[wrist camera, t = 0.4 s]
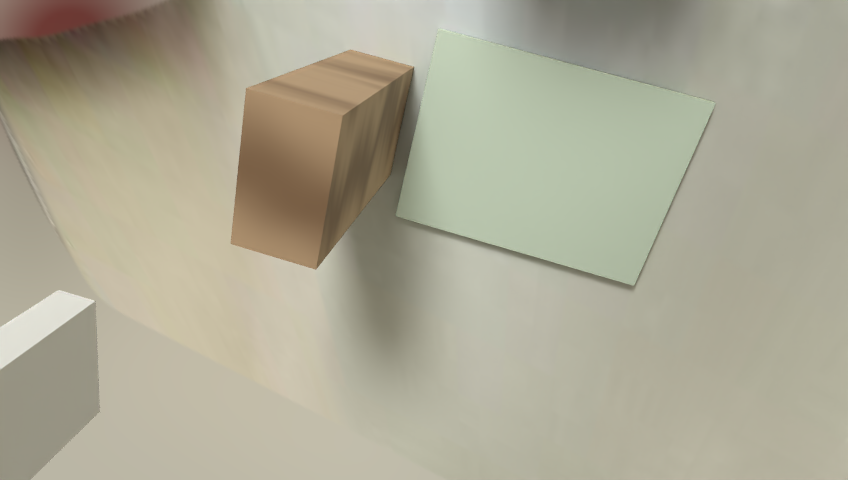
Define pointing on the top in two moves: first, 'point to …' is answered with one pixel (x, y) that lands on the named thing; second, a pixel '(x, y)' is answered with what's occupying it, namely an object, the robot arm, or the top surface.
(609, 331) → the top surface
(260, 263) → the top surface
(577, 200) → the mat
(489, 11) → the top surface
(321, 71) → the walnut block
